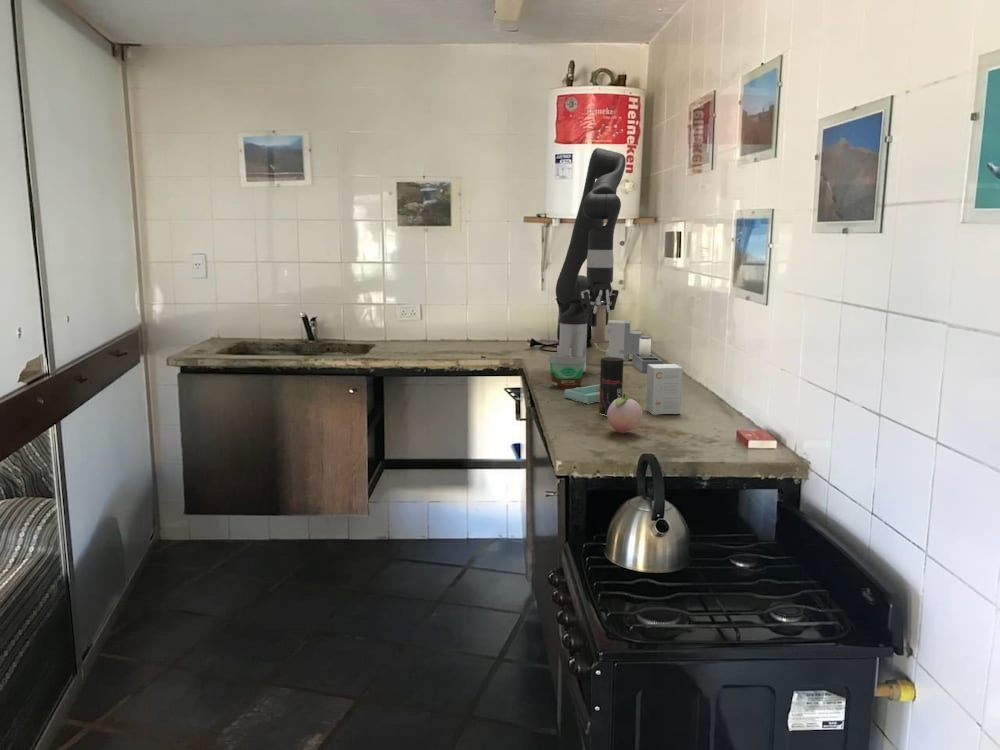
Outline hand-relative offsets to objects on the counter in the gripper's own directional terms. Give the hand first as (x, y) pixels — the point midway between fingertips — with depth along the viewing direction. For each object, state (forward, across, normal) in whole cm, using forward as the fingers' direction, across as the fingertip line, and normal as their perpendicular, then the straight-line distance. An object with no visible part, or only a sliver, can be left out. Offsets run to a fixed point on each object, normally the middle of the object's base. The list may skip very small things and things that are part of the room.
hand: (598, 325), depth 231 cm
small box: (+22, +2, -24) cm, 32 cm away
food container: (+22, +4, +16) cm, 27 cm away
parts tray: (+21, 0, 0) cm, 21 cm away
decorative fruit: (+22, -23, -33) cm, 46 cm away
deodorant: (+22, -11, -16) cm, 29 cm away
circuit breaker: (+21, +54, +40) cm, 70 cm away
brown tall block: (+5, 0, 0) cm, 5 cm away
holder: (+21, +46, +22) cm, 55 cm away
